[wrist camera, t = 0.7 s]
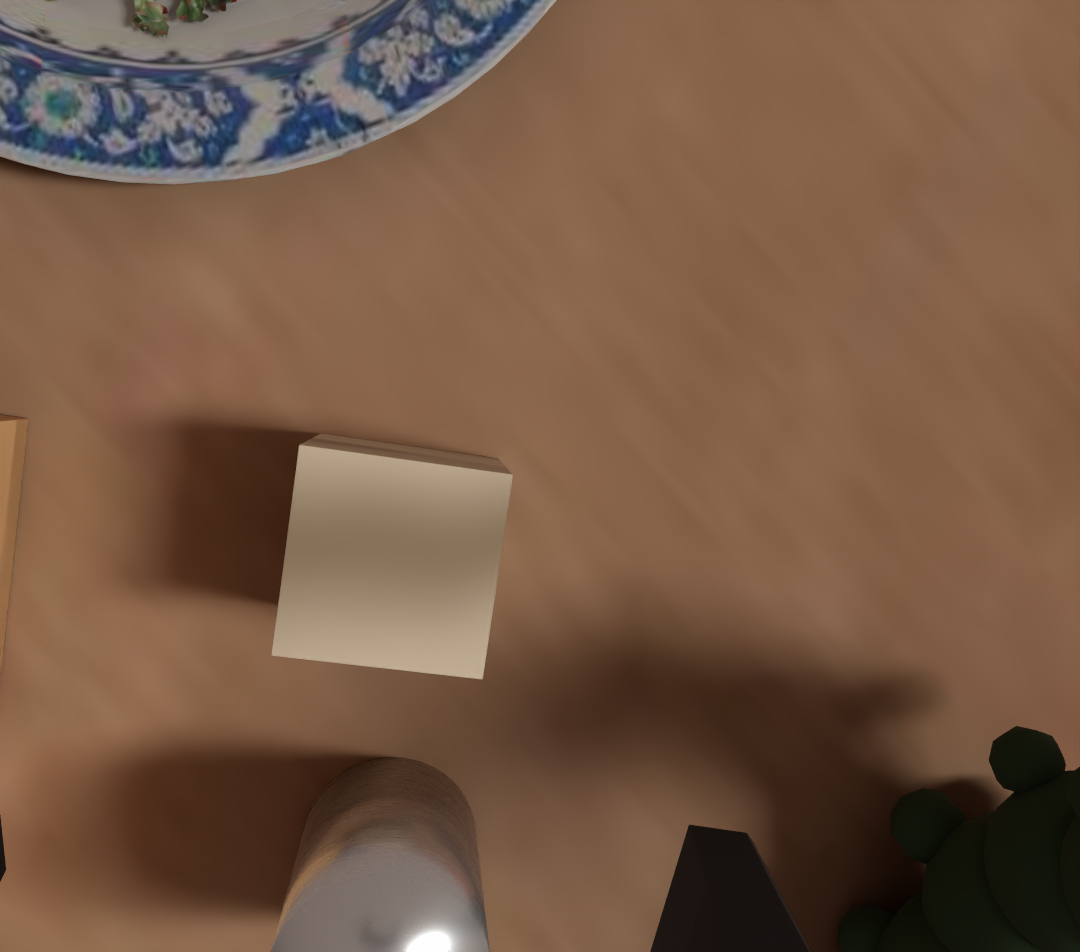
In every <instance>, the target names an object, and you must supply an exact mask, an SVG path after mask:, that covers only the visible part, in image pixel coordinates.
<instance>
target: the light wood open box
mask: <svg viewBox="0 0 1080 952" xmlns="http://www.w3.org/2000/svg"><path fill="white" fill-rule="evenodd" d="M28 421H29V419H28V418H21V417H13V416H6V415H0V676H1V667H2V657H3V648H4V639H5V630H6V621H7V612H8V603H9V594H10V585H11V576H12V567H13V558H14V548H15V539H16V530H17V521H18V512H19V503H20V494H21V485H22V476H23V467H24V458H25V449H26V439H27V430H28Z"/></svg>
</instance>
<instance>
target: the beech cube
mask: <svg viewBox="0 0 1080 952" xmlns="http://www.w3.org/2000/svg"><path fill="white" fill-rule="evenodd" d="M512 477H513V474H512V473H511V472H510V471H509V470H508V469H507V468H506V467H505V466H504V465H503V463H502V462H501V461H500V460H499V459H498V458H491V457H483V456H476V455H469V454H462V453H455V452H448V451H441V450H434V449H427V448H420V447H413V446H406V445H398V444H391V443H384V442H377V441H370V440H363V439H356V438H349V437H342V436H335V435H328V434H319V435H317V436H315V437H313V438H311V439H309V440H308V441H306V442H304V443H302V444H300V445H299V451H298V458H297V466H296V474H295V481H294V489H293V497H292V504H291V512H290V520H289V527H288V535H287V542H286V550H285V558H284V565H283V573H282V581H281V588H280V596H279V604H278V611H277V619H276V627H275V634H274V642H273V650H272V656H281V657H290V658H299V659H307V660H316V661H325V662H334V663H343V664H352V665H360V666H369V667H378V668H387V669H396V670H404V671H413V672H422V673H431V674H440V675H449V676H457V677H466V678H475V679H483V673H484V667H485V660H486V653H487V646H488V639H489V633H490V626H491V619H492V612H493V606H494V599H495V592H496V585H497V578H498V572H499V565H500V558H501V551H502V545H503V538H504V531H505V524H506V517H507V511H508V504H509V497H510V490H511V484H512Z"/></svg>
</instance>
